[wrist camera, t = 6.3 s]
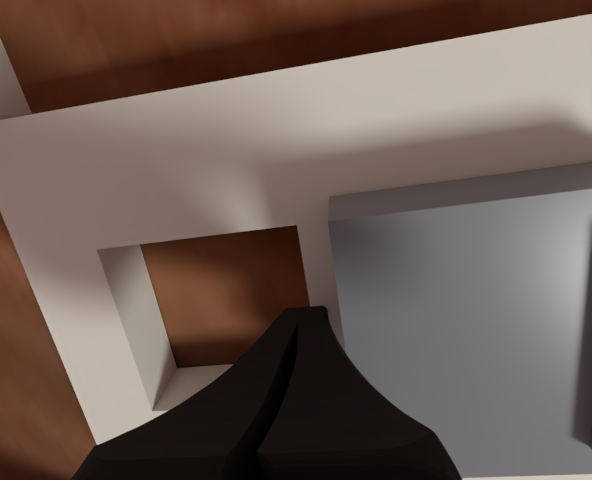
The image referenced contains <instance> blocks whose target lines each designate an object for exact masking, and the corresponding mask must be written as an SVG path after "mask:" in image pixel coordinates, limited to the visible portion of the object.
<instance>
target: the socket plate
mask: <svg viewBox="0 0 592 480" xmlns="http://www.w3.org/2000/svg"><path fill="white" fill-rule="evenodd" d="M588 162H592V14H588V15H583V16H577V17H572V18H566V19H560V20H555V21H549V22H544V23H538V24H533V25H527V26H521V27H516V28H510V29H505V30H499V31H494V32H488V33H482V34H477V35H471V36H466V37H460V38H454V39H449V40H443V41H438V42H432V43H427V44H421V45H415V46H410V47H404V48H399V49H393V50H388V51H382V52H376V53H371V54H365V55H360V56H354V57H349V58H343V59H337V60H332V61H326V62H321V63H315V64H309V65H304V66H298V67H293V68H287V69H282V70H276V71H270V72H265V73H259V74H254V75H248V76H243V77H237V78H231V79H226V80H220V81H215V82H209V83H204V84H198V85H192V86H187V87H181V88H176V89H170V90H164V91H159V92H153V93H148V94H142V95H137V96H131V97H125V98H120V99H114V100H109V101H103V102H98V103H92V104H86V105H81V106H75V107H70V108H64V109H59V110H53V111H47V112H42V113H36V114H31V115H25V116H20V117H14V118H8V119H3V120H0V212H1V214H2V217H3V219H4V221H5V224H6V226H7V229H8V231H9V234H10V236H11V238H12V241H13V243H14V246H15V248H16V250H17V253H18V255H19V258H20V260H21V263H22V265H23V267H24V270H25V272H26V275H27V277H28V279H29V282H30V284H31V287H32V289H33V292H34V294H35V296H36V299H37V301H38V304H39V306H40V308H41V311H42V313H43V316H44V318H45V321H46V323H47V325H48V328H49V330H50V333H51V335H52V337H53V340H54V342H55V345H56V347H57V350H58V352H59V354H60V357H61V359H62V362H63V364H64V366H65V369H66V371H67V374H68V376H69V379H70V381H71V383H72V386H73V388H74V391H75V393H76V395H77V398H78V400H79V403H80V405H81V407H82V410H83V412H84V415H85V417H86V420H87V422H88V424H89V427H90V429H91V432H92V434H93V436H94V439H95V441H96V444H97V445H99V444H101V443H104V442H106V441H108V440H110V439H112V438H115V437H117V436H119V435H121V434H123V433H126V432H128V431H130V430H132V429H134V428H137V427H139V426H141V425H143V424H145V423H147V422H148V421H150V420H152V419H154V418H156V417H158V416H160V415H162V414H163V413H165V412H167V411H169V410H170V409H172V408H174V407H175V406H177V405H179V404H180V403H182V402H184V401H185V400H187V399H188V398H190V397H191V396H192V395H194V394H195V393H197V392H198V391H200V390H201V389H203V388H204V387H206V386H207V385H209V384H210V383H211V382H213V381H214V380H215V379H217V378H218V377H219V376H220V375H222V374H223V373H224V372H225V371H227V370H228V369H229V368H230V367H231V366H232V365H233V364H227V365H213V366H200V367H187V368H177V366H176V363H175V360H174V356H173V353H172V350H171V346H170V343H169V340H168V336H167V333H166V330H165V327H164V323H163V320H162V317H161V313H160V310H159V307H158V304H157V300H156V297H155V294H154V290H153V287H152V284H151V281H150V277H149V274H148V271H147V267H146V264H145V261H144V257H143V254H142V251H141V248H140V244H146V243H154V242H163V241H171V240H179V239H187V238H195V237H203V236H211V235H219V234H228V233H236V232H244V231H252V230H260V229H268V228H276V227H284V226H293V225H297V229H298V235H299V241H300V247H301V254H302V260H303V266H304V272H305V278H306V284H307V290H308V297H309V303H310V307H311V306H322V305H323V306H325V307H326V308H327V310H328V317H329V322H330V325H331V327H332V330H333V332H334V334H335V336H336V338H337V339H338V341H339V343H340V345H341V346H342V348H343V350H344V351H345V345H344V338H343V330H342V323H341V315H340V308H339V301H338V293H337V286H336V279H335V271H334V264H333V257H332V249H331V242H330V234H329V227H328V207H329V197H330V196H337V195H345V194H352V193H360V192H368V191H375V190H383V189H390V188H398V187H406V186H413V185H421V184H428V183H436V182H444V181H451V180H459V179H466V178H474V177H482V176H489V175H497V174H504V173H512V172H520V171H527V170H535V169H542V168H550V167H558V166H565V165H573V164H580V163H588ZM345 353H346V352H345ZM462 480H592V474H577V475H545V476H513V477H481V478H462Z"/></svg>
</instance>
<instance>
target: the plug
mask: <svg viewBox="0 0 592 480" xmlns="http://www.w3.org/2000/svg"><path fill="white" fill-rule="evenodd" d="M29 114H32V113H31V110H30V108H29V105H28V103H27V101H26V98H25V96H24V94H23V91H22V89H21V86H20V84H19V82H18V79H17V77H16V75H15V72H14V70H13V67H12V65H11V63H10V60H9V58H8V56H7V53H6V51H5V48H4V46H3V44H2V41H1V39H0V120H3V119H8V118H14V117H20V116H25V115H29Z"/></svg>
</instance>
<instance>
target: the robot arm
mask: <svg viewBox="0 0 592 480" xmlns="http://www.w3.org/2000/svg"><path fill="white" fill-rule="evenodd" d="M71 480H462V478H461V476H460V474H459V472H458V470H457V468H456V466H455V464H454V463H453V461H452V459H451V457H450V456H449V454H448V452H447V451H446V449H445V447H444V446H443V444H442V443H441V441H440V439H439V438H438V436H437V435H436V433H435V432H434V431H432V430H431V429H429V428H428V427H426V426H424V425H423V424H421V423H420V422H418V421H416V420H415V419H413V418H411V417H410V416H408V415H407V414H405V413H404V412H402V411H401V410H400V409H398V408H397V407H396V406H394V405H393V404H392V403H391V402H390V401H389V400H388V399H386V398H385V397H384V396H383V395H382V394H381V393H380V392H379V391H378V390H377V389H375V388H374V387H373V386H372V385H371V384H370V383H369V382H368V380H367V379H366V378H365V377H364V376H363V375H362V374H361V373H360V371H359V370H358V369H357V368H356V367H355V365H354V364H353V363H352V361H351V360H350V359H349V357H348V356H347V354H346V353H345V351H344V350H343V348H342V346H341V345H340V343H339V341H338V339H337V338H336V336H335V334H334V332H333V330H332V327H331V325H330V322H329V317H328V310H327V308H326V307H325V306H323V305H322V306H311V307H300V308H289V309H285V310H284V311H283V312H282V313H281V314H280V316H279V317H278V318H277V319H276V320H275V321H274V323H273V324H272V325H271V326H270V327H269V328H268V330H267V331H266V332H265V333H264V334H263V335H262V336H261V337H260V339H259V340H258V341H257V342H256V343H255V344H254V345H253V346H252V347H251V348H250V349H249V350H248V351H247V352H246V353H245V354H244V355H243V356H242V357H241V358H240V359H239V360H238V361H237V362H236V363H235V364H233V365H232V366H231V367H230V368H229V369H228V370H227V371H225V372H224V373H223V374H222V375H220V376H219V377H218V378H217V379H215V380H214V381H213V382H211V383H210V384H209V385H207V386H206V387H204V388H203V389H201V390H200V391H198V392H197V393H195V394H194V395H192V396H191V397H190V398H188V399H187V400H185V401H184V402H182V403H180V404H179V405H177V406H175V407H174V408H172V409H170V410H169V411H167V412H165V413H163V414H162V415H160V416H158V417H156V418H154V419H152V420H150V421H148V422H147V423H145V424H143V425H141V426H139V427H137V428H134V429H132V430H130V431H128V432H126V433H123V434H121V435H119V436H117V437H115V438H112V439H110V440H108V441H106V442H104V443H101V444H99V445H96V446H94V448H93V449H92V450H91V452H90V453H89V455H88V456H87V457H86V459H85V460H84V462H83V463H82V465H81V466H80V468H79V469H78V470H77V472H76V473H75V475H74V476H73V478H72V479H71Z"/></svg>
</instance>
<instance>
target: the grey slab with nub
mask: <svg viewBox="0 0 592 480" xmlns="http://www.w3.org/2000/svg"><path fill="white" fill-rule="evenodd" d="M328 227H329V234H330V242H331V249H332V257H333V264H334V271H335V279H336V286H337V293H338V301H339V308H340V315H341V323H342V330H343V338H344V345H345V352H346V354H347V356H348V357H349V359H350V360H351V361H352V363H353V364H354V365H355V367H356V368H357V369H358V370H359V371H360V373H361V374H362V375H363V376H364V377H365V378H366V379H367V380H368V382H369V383H370V384H371V385H372V386H373V387H374V388H375V389H377V390H378V391H379V392H380V393H381V394H382V395H383V396H384V397H385V398H386V399H388V400H389V401H390V402H391V403H392V404H393V405H394V406H396V407H397V408H398V409H400V410H401V411H402V412H404V413H405V414H407V415H408V416H410V417H411V418H413V419H415V420H416V421H418V422H420V423H421V424H423V425H424V426H426V427H428V428H429V429H431V430H432V431H434V432H435V433H436V435H437V436H438V438H439V439H440V441H441V443H442V444H443V446H444V447H445V449H446V451H447V452H448V454H449V456H450V457H451V459H452V461H453V463H454V464H455V466H456V468H457V470H458V472H459V474H460V476H461V478H481V477H513V476H545V475H577V474H592V162H588V163H580V164H573V165H565V166H558V167H550V168H542V169H535V170H527V171H520V172H512V173H504V174H497V175H489V176H482V177H474V178H466V179H459V180H451V181H444V182H436V183H428V184H421V185H413V186H406V187H398V188H390V189H383V190H375V191H368V192H360V193H352V194H345V195H337V196H330V197H329V207H328Z"/></svg>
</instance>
